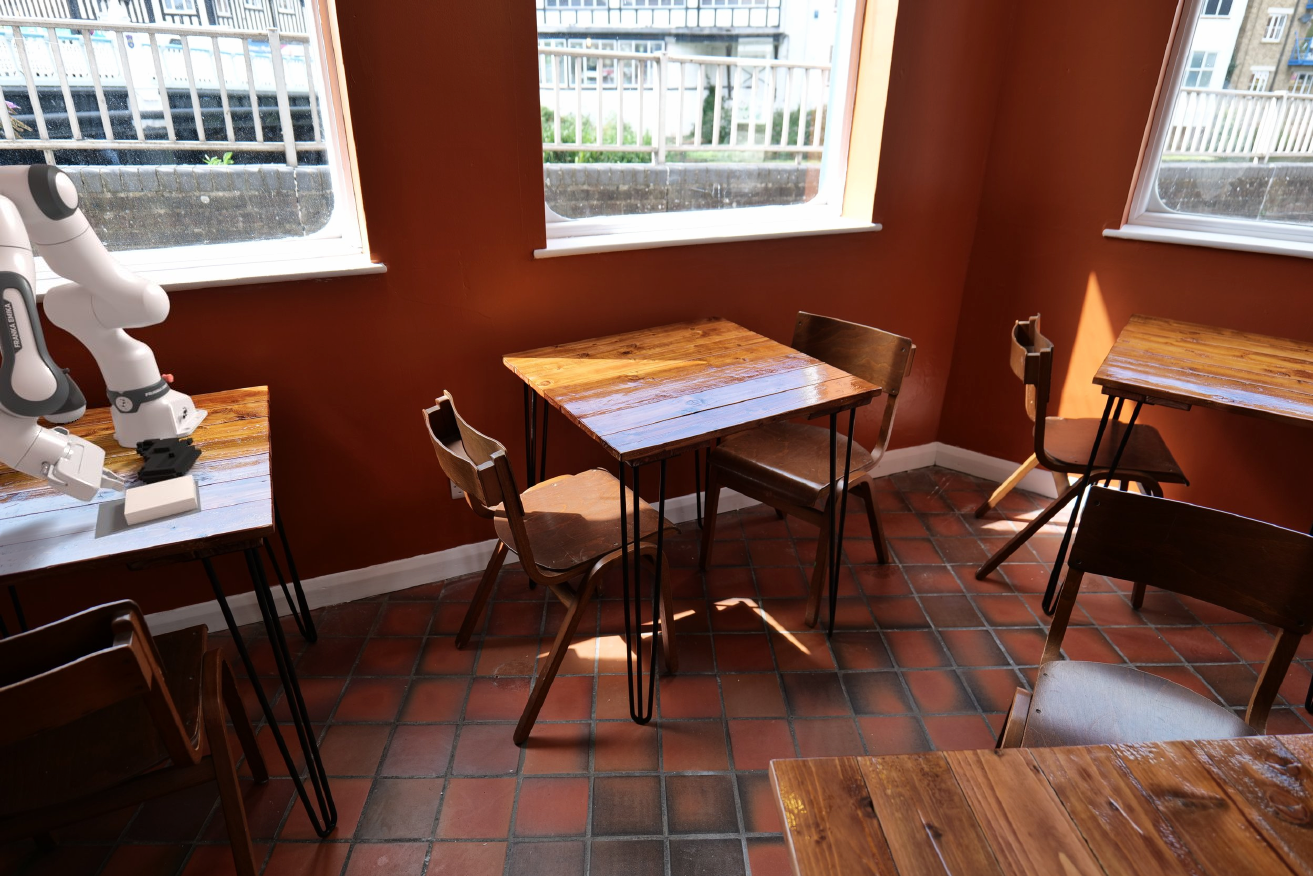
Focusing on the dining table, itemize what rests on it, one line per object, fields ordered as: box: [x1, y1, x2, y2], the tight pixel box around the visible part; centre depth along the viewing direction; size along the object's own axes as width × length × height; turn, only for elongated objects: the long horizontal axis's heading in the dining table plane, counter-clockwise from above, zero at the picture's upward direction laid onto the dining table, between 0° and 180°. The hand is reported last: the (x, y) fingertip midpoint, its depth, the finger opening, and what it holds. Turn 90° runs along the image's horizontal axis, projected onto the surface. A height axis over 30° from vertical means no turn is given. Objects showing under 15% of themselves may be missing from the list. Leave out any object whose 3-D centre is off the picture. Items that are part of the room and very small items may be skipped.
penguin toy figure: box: [42, 366, 87, 424], centre depth 196 cm, size 10×10×15 cm
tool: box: [135, 437, 203, 485], centre depth 170 cm, size 5×20×15 cm
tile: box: [124, 474, 198, 525], centre depth 155 cm, size 3×12×12 cm
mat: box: [94, 480, 202, 540], centre depth 154 cm, size 18×16×1 cm
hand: (123, 486), depth 150 cm, fingers closed
